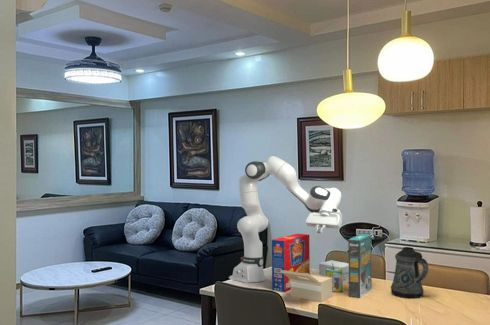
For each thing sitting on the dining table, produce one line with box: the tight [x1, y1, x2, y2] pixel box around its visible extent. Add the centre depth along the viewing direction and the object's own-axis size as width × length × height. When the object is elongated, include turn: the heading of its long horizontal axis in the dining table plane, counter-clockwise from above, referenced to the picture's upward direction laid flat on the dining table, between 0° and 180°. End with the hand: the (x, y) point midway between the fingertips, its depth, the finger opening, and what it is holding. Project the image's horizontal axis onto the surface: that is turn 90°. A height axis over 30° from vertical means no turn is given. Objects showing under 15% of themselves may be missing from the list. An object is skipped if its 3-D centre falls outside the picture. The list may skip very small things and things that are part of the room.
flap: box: [281, 270, 318, 283], centre depth 242 cm, size 16×1×11 cm
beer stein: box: [390, 246, 429, 300], centre depth 254 cm, size 16×19×25 cm
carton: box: [290, 273, 333, 303], centre depth 252 cm, size 18×12×10 cm
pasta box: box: [271, 233, 311, 293], centre depth 274 cm, size 28×8×28 cm, turn 143°
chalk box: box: [326, 263, 344, 293], centre depth 265 cm, size 9×9×15 cm
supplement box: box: [318, 259, 349, 283], centre depth 291 cm, size 17×13×9 cm
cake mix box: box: [347, 233, 373, 299], centre depth 259 cm, size 22×6×30 cm, turn 150°
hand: (318, 232), depth 259 cm, fingers closed
